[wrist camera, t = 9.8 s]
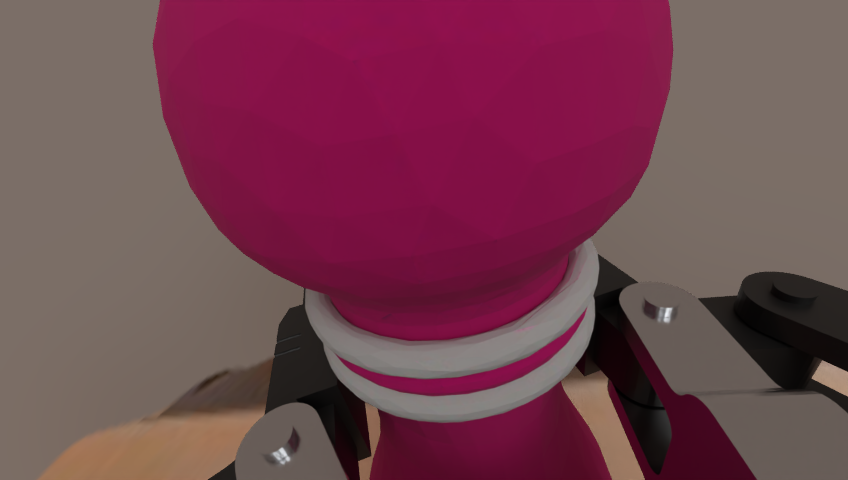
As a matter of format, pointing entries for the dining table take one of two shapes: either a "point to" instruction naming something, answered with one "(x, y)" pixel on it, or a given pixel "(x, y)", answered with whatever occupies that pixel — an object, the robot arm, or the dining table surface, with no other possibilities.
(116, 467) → the dining table surface
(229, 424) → the dining table surface
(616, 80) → the pepper mill
